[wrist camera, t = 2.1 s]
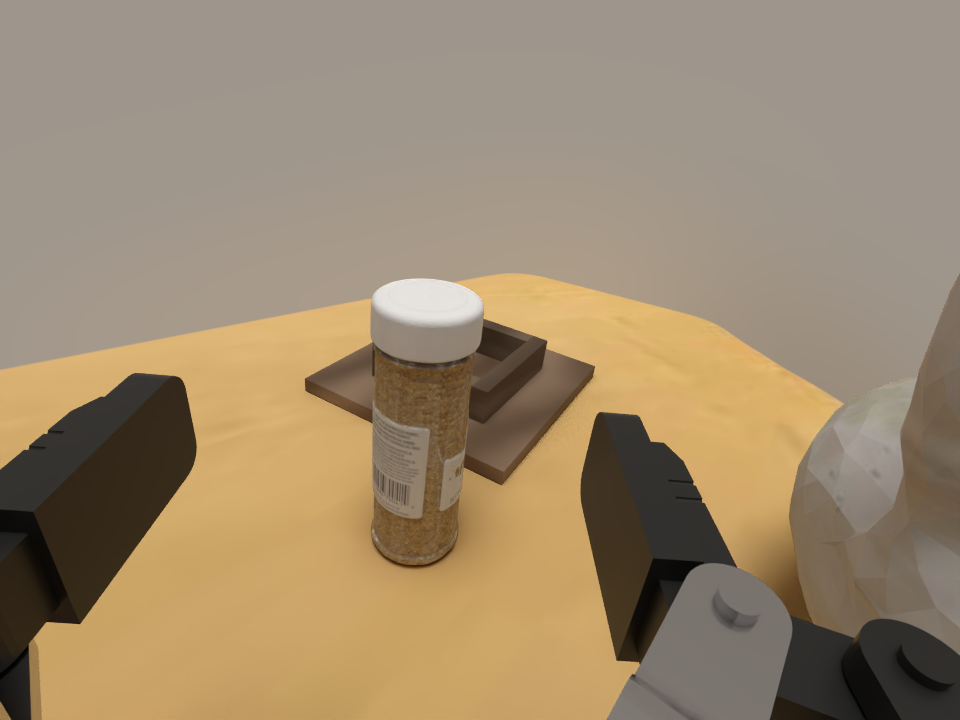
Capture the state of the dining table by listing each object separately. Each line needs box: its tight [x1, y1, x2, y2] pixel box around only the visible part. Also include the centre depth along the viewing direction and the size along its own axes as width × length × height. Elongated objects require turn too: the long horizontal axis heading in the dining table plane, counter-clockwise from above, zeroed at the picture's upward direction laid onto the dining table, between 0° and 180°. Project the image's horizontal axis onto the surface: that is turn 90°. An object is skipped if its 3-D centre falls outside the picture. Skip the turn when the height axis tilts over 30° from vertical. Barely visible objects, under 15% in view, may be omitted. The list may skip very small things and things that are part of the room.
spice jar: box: [371, 279, 484, 565], centre depth 25 cm, size 5×5×13 cm
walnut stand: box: [305, 319, 595, 485], centre depth 40 cm, size 16×16×4 cm
